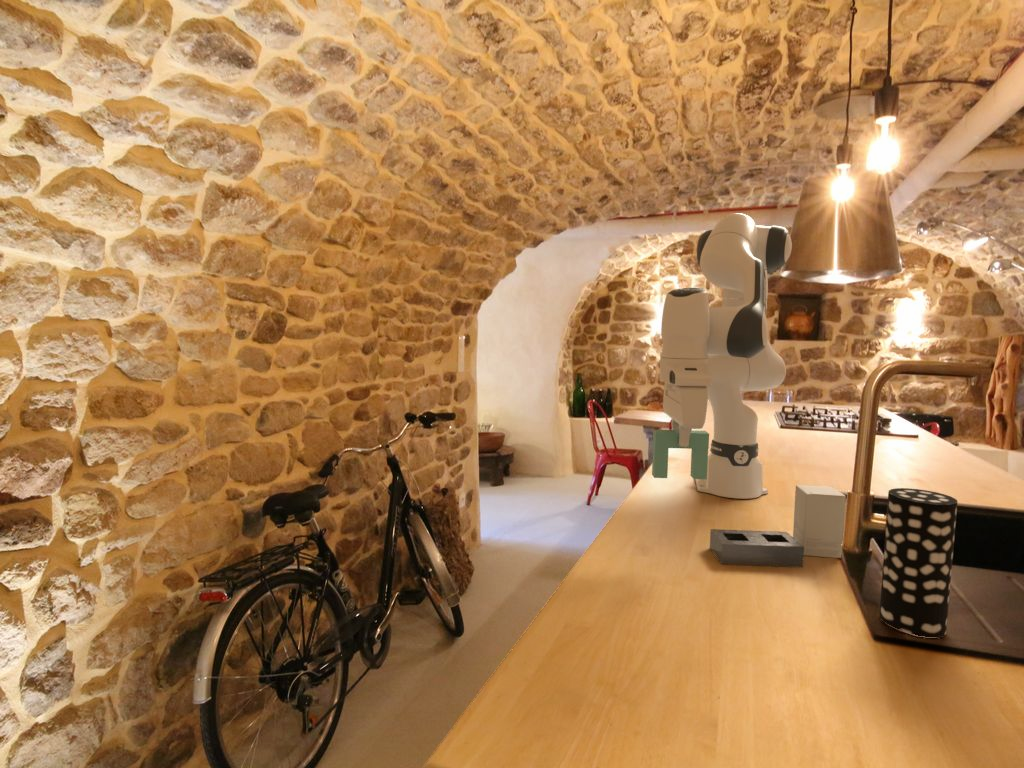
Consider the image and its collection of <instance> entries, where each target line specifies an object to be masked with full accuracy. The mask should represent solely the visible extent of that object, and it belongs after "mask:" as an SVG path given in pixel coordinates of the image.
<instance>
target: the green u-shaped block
mask: <svg viewBox="0 0 1024 768" xmlns="http://www.w3.org/2000/svg"><path fill="white" fill-rule="evenodd" d="M652 432H653V434H652V463H651V465H652V466H651V467H652V468H651V475H652V477H653V479H668V470H669V469H668V467H669V465H668V464H669V449H688V450H689V449H691V454H690V455H691V456H690V475H689V476H690V477H691V478H692V479H693V480H695V479H707V464H708V456H709V448H710V445H709V444H710V433H709V432H708V431H706V430H691V434H690V437H689V445H688V446H687V447H681V446H679V445H678V436H679V430H673V429H653V431H652Z"/></svg>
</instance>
